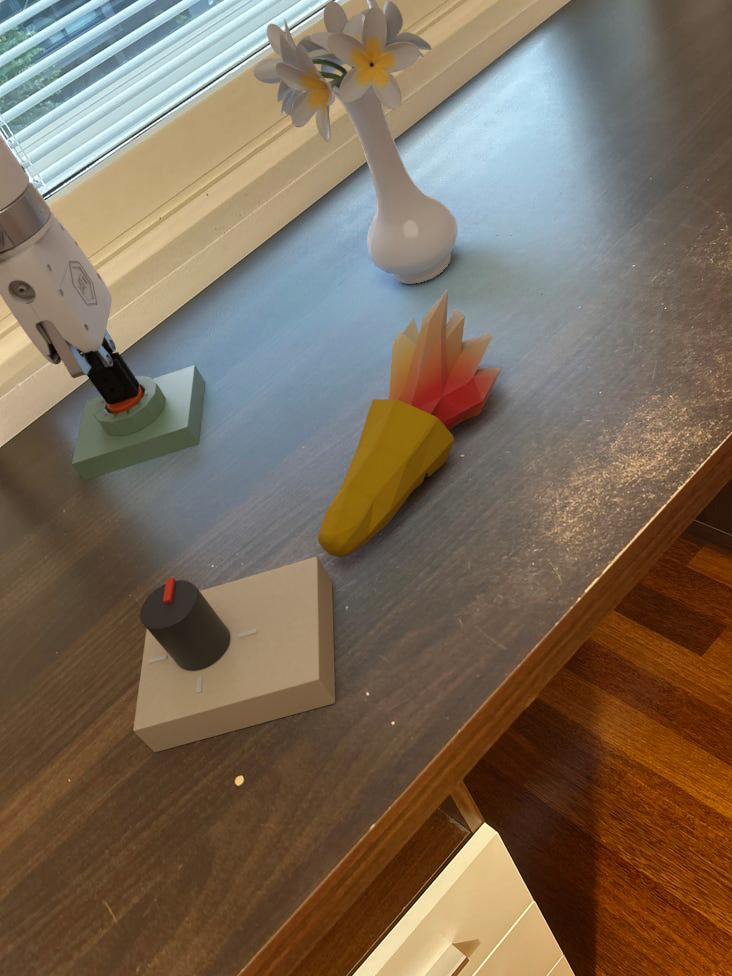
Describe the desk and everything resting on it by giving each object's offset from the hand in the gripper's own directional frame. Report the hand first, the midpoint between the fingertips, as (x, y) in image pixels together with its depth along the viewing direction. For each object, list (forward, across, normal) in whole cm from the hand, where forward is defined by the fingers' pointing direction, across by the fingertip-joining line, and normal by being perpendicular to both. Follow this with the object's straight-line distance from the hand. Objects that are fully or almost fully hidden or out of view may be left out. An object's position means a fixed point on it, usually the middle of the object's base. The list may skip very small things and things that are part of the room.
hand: (124, 395), depth 97 cm
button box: (+4, 0, 0) cm, 4 cm away
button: (+2, 0, 0) cm, 2 cm away
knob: (+1, -34, -10) cm, 36 cm away
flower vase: (+5, +13, -29) cm, 32 cm away
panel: (+4, -34, -12) cm, 36 cm away
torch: (+5, -17, -26) cm, 32 cm away
